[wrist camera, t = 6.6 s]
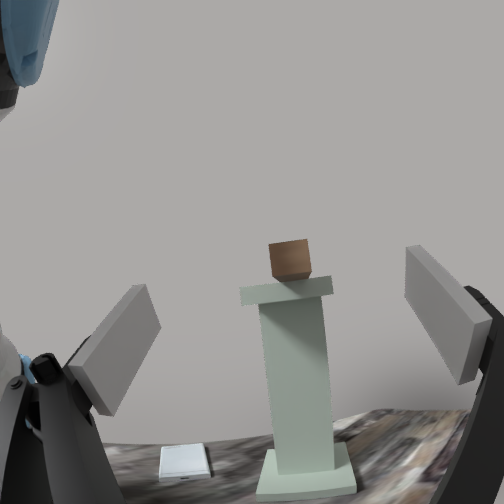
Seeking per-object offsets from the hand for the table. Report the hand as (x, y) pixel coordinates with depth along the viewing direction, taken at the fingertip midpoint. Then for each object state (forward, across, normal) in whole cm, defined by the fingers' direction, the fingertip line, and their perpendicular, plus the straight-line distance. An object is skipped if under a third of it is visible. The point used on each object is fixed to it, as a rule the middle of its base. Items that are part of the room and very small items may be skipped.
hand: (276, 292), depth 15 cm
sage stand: (+10, -1, -37) cm, 38 cm away
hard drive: (+12, -21, -40) cm, 47 cm away
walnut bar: (+19, 0, -9) cm, 21 cm away
